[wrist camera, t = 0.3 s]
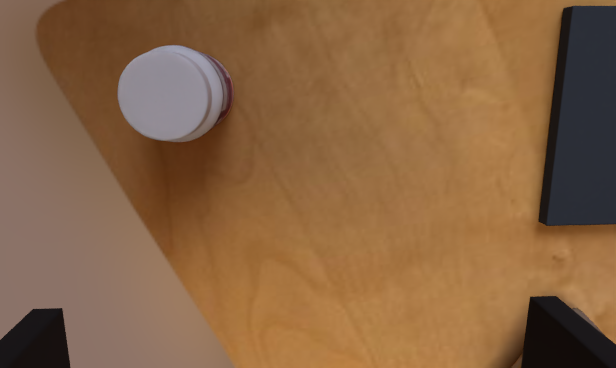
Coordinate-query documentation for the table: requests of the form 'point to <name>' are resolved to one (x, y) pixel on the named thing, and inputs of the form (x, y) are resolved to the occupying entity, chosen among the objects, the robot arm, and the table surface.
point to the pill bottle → (174, 93)
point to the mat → (583, 122)
